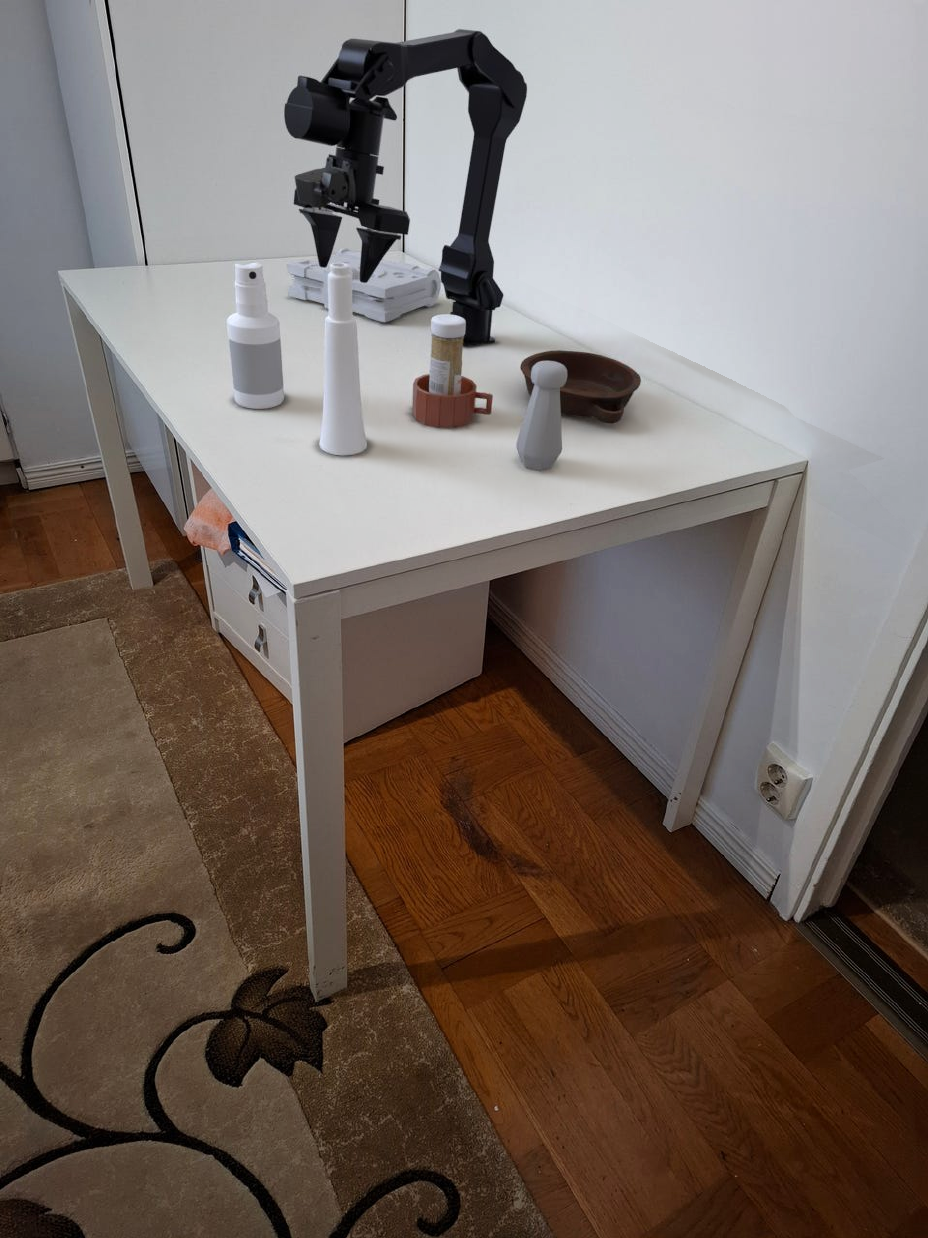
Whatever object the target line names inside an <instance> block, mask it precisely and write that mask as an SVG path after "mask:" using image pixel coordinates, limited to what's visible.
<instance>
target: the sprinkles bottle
mask: <svg viewBox="0 0 928 1238" xmlns="http://www.w3.org/2000/svg"><path fill="white" fill-rule="evenodd" d="M465 329H466V321H465V319H464V318H462V317H460V316H456V315H450V313H449V314H447V313H446V314H443V313H442V314H437V315H434V316H432V318H431V321H430V333H431V349H430V356H429V357H430V358H429V359H430V362H429V374H430V381H429V393H433V394H438V395H460V392H461V376H462V372H463V350H464V348H463V347H464V346H463V338H464V335H465Z"/></svg>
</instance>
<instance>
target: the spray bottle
mask: <svg viewBox="0 0 928 1238" xmlns="http://www.w3.org/2000/svg"><path fill="white" fill-rule="evenodd" d="M263 270H264V268H263V264H261V263H260V262H256V261H254V262H252V263H247V264H242V263H238V262H236V263H235V264H234V271H235V272H234V273H235V278H234V279H235V281H234V292H235V311H236V312H234V313H232V314H230V315H229V317H228V318H227V319H226V327H227V328H226V330H227V340H228V349H229V361H230V369H231V370H230V371H231V379H232V389H233V390H232V391H233V399H234V402H235V403H236V404H237V405H238V406H240V407H243V408H246V409H247V408H248V409H252V410H254V409H255V410H264V409H265V410H266V409H271V408H274V407H277V406H280V405H281V404H283V402H284V400H285V389H284V374H283V358H282V357H283V356H282V341H281V340H282V339H281V325H280V324H281V323H280V320H279V318H278V317H277V316H275V315H274V314H272V313H271V312H269V306H268V299H267V287H266V286H267V285H266V282H265V279H264V271H263Z"/></svg>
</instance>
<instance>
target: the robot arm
mask: <svg viewBox="0 0 928 1238" xmlns="http://www.w3.org/2000/svg"><path fill="white" fill-rule="evenodd" d="M454 69H457V70H456V71H457V75H458V81H459V82H460V83H461V84H462V86H463V87H464V89H465V90H466V92H467V93H468V102H467V112H468V116H469V120H470V123H471V127H472V130H473V138H472V144H471V152H470V157H469V164H468V171H467V177H466V182H465V190H464V196H463V201H462V202H463V203H462V208H461V215H460V221H459V228H458V233H457V236H456V237H455V239H454V240H453V241H452V242H451V244H450V245H448V244H444V245H443V247H442V249H441V262H440V265H439V267H438V272H440V281H441V284H442V286H443V288H444V294H445V298H446V299H447V300H452V310H451V311H450V312H449V314H450V315H456V316H460V317H462V318H464V319H465V321H466V329H465V335H464V338H463V347H473V346H478V345H479V346H480V345H486V344H493V343H496V338H494V337H492V336H491V331H492V321H493V311H495V310H496V309H497V308H500V307H501V305H502V301H503V298H504V293H503V291H502V290H501V288H500V286H499V284H498V283H497V281H495V278H494V270H495V269H494V267H495V260H494V255H493V253H492V249H491V247H490V246H491V245H490V241H489V240H490V235H491V228H492V222H493V217H494V211H495V205H496V201H497V195H498V190H499V189H498V188H499V184H500V177H501V171H502V165H503V160H504V153H505V148H506V143H507V140H508V138H509V137H510V136H511V134H512V133H513V131H514V130H515V129H516V127H517V126H518V124H519V123H520V120H521V118H522V113H523V110H524V107H525V103H526V101H527V97H528V85H527V82H526V81H525V78H524V76H523V74H522V72H521V71H519V70H517V68H516V67H515V65H514V63H513V62H512V61H511V60H509V59H508V57H506V56H505V55H504V54H503V53H502V52H501V51H499V50H498V49H497V48H496V47H494V45H493V44H492V42H491V41H490V39H489V37H488V36H487V35H486V34H485V33H484V32H483V31H480V30H473V29H462V28H458V29H456V30H454V31H453V32H447V33H442V34H436V35H431V36H426V37H420V38H414V39H410V40H404V41H398V42H390V41H382V40H372V39H363V38H349V39H347V40H345V41H343V43H342V44H341V48H340V51H339V54H338V57H337V58H336V60H335V61H334V63H333V64H332V65H331V67H330V68H329V69H328V71H327V72H326V74H325V75H324V76H323V78H322V80H321V81H319V80H318V79H317V78H313V77H309V76H305V75H298V76H297V83H296V86H295V87H294V88H293V89H292V90H291V91H290V93H289V95H288V98H287V101H286V103H284V109H283V113H284V114H283V117H284V125H285V127H286V130H287V132H288V133H289V135H290V136H291V137H292V138H294V139H296V140H302V141H307V142H310V143H315V144H320V145H325V146H329V147H333V146H334V147H335V146H336V147H335V154H331V153H329V154H328V156H327V157H326V161H325V166H324V167H321V168H315V169H311V170H308V171H305V172H302V173H298V174H296V175H294V182H295V189H294V195H293V196H294V197H293V206H294V205H295V206H297V207H301V208H298V212H299V213H300V214H302V215H303V216H304V218H305V220H307V222H308V223H309V224H310V227H311V232H312V235H313V240H314V245H315V251H316V256H317V257H316V258H318V262H319V266H320V267H323V268H326V267H327V265H328V262H329V260H330V257H331V255H332V254H333V251H334V248H335V247H334V246H335V243H336V240H337V237H338V234H339V230H340V228H341V224H342V220H343V216H340V215H337V213H338V214H339V213H340V214H343V215H346V216H349V217H352V218H355V219H358V221H359V223H360V226H361V227H355V228H356V229H355V230H356V232H357V233H358V236H359V238H360V240H361V250H360V252H361V261H360V282H362V283H367V282H368V280H369V279H370V277H371V276H372V274H373V272H374V271H375V269H376V268H377V266H378V265H379V263H380V261H381V260H382V259H384V257H385V255H387V253H388V252H389V250H390V249H391V248H392V246H393V245H394V244H395V242H397V241H400V240H402V235H407V236H408V235H409V232H410V231H409V230H410V224H411V218H410V216H409V214H408V212H407V211H406V210H402V209H399V208H395V207H392V206H389V205H388V206H387V205H381V204H380V199H378V198H375V197H374V194H375V188H376V180H377V175H381V176H383V175H384V170H385V166H383V165H380V164H379V157H380V150H381V142H382V134H383V129H384V128H383V127H384V121H385V120H389V121H397V120H398V115H397V114H396V111H395V109H394V108H393V107H392V106H391V104H390V101H389V98H387V97H386V96H388V95H390V94H392V93H394V92H396V91H398V90H400V89H402V88H404V86H405V85H406V84H407V83H408V81H410V80H412V79H414V78H417V77H422V76H425V75H426V76H427V75H430V74H431V75H432V74H435V73H440V72H445V71H449V70H454ZM373 98H374V99H373ZM351 99H352V100H351ZM371 99H373V100H371ZM350 100H351V101H350ZM384 119H385V120H384ZM345 204H346V205H345ZM334 213H336V214H334Z"/></svg>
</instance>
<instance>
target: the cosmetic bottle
mask: <svg viewBox="0 0 928 1238" xmlns="http://www.w3.org/2000/svg"><path fill="white" fill-rule="evenodd" d="M330 270H331V272H330V273H329V274H328V308H327V310H328V315H327V316H325V318H324V346H323V347H324V348H323V349H324V351H323V353H324V355H323V368H324V369H323V371H324V372H323V403H322V404H323V405H322V406H323V407H322V421H321V429H320V435H319V444H318V445H319V447H320V449H321V450H322V451H323V452H325V453H327V454H330V455H336V456H353V455H357V454H360V453H362V452H364V451H365V450H366V449H367V447H368V443H367V437H366V432H365V426H364V418H363V408H362V396H361V382H360V381H361V380H360V361H359V343H358V342H359V341H358V339H359V338H358V325H357V324H358V323H357V318H356V317H355V316H353V313H354V312H353V307H352V275H351V274H350V273H349V270H350V266H349V265H348V264H345V263H332V264H330Z"/></svg>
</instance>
